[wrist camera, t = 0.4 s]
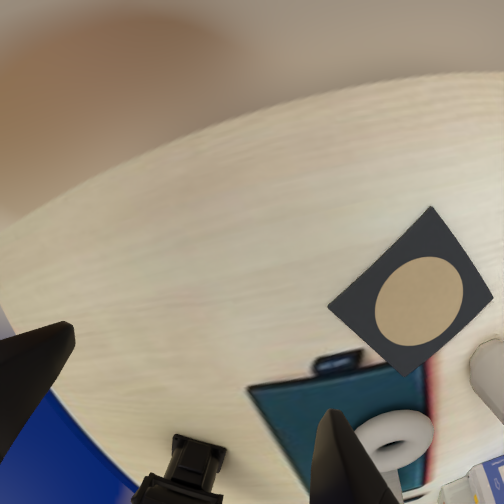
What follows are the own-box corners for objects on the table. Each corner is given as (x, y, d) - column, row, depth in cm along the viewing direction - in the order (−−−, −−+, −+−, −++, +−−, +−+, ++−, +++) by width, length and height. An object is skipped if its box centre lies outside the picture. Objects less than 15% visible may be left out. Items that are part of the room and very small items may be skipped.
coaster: (403, 374, 25) (404, 378, 24) (327, 305, 23) (327, 308, 23) (491, 295, 21) (494, 298, 21) (430, 205, 20) (433, 207, 19)
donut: (432, 436, 28) (425, 389, 25) (438, 458, 24) (435, 414, 22) (355, 463, 30) (333, 422, 28) (357, 485, 27) (334, 448, 24)
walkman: (507, 453, 28) (527, 504, 17) (501, 462, 29) (519, 512, 18) (472, 466, 29) (489, 523, 18) (465, 474, 30) (481, 530, 19)
